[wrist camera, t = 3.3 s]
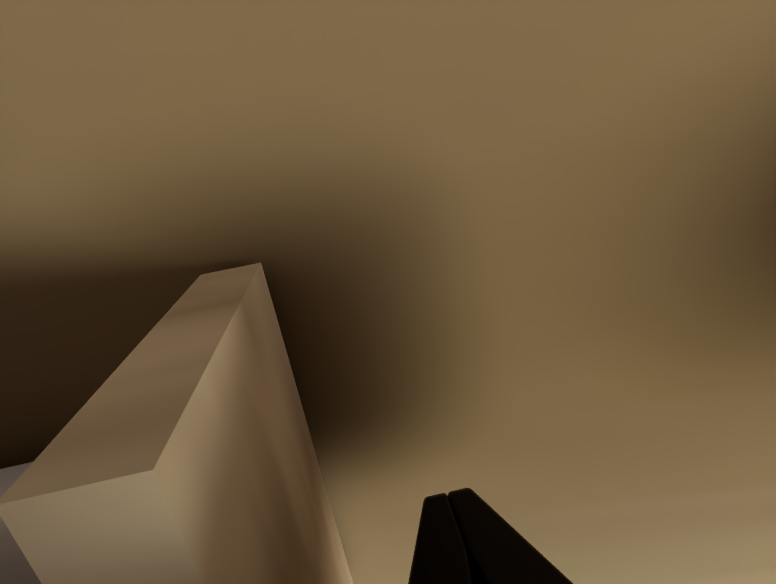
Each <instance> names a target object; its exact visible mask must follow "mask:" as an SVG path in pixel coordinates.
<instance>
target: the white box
mask: <svg viewBox="0 0 776 584" xmlns="http://www.w3.org/2000/svg"><path fill="white" fill-rule="evenodd" d="M0 584H353V582H352V578H351V575H350V571H349V568H348V564H347V561H346V557H345V554H344V550H343V547H342V543H341V540H340V536H339V533H338V529H337V526H336V522H335V519H334V515H333V512H332V508H331V505H330V501H329V498H328V494H327V491H326V487H325V484H324V481H323V477H322V474H321V470H320V467H319V463H318V460H317V456H316V453H315V449H314V446H313V442H312V439H311V435H310V432H309V428H308V425H307V421H306V418H305V414H304V411H303V407H302V404H301V400H300V397H299V393H298V390H297V386H296V383H295V379H294V376H293V372H292V369H291V365H290V362H289V358H288V355H287V351H286V348H285V344H284V341H283V337H282V334H281V330H280V327H279V323H278V320H277V316H276V313H275V309H274V306H273V302H272V299H271V296H270V292H269V289H268V285H267V282H266V278H265V275H264V271H263V268H262V264H261V263H256V264H251V265H246V266H241V267H236V268H231V269H226V270H222V271H217V272H212V273H207V274H202V275H200V276H199V277H198V278H197V279H196V280H195V282H194V283H193V284H192V285H191V286H190V287H189V288H188V289H187V291H186V292H185V293H184V294H183V295H182V296H181V297H180V298H179V299H178V301H177V302H176V303H175V304H174V305H173V306H172V307H171V308H170V310H169V311H168V312H167V313H166V314H165V315H164V316H163V317H162V318H161V320H160V321H159V322H158V323H157V324H156V325H155V326H154V327H153V329H152V330H151V331H150V332H149V333H148V334H147V335H146V336H145V337H144V339H143V340H142V341H141V342H140V343H139V344H138V345H137V346H136V348H135V349H134V350H133V351H132V352H131V353H130V354H129V355H128V356H127V358H126V359H125V360H124V361H123V362H122V363H121V364H120V365H119V367H118V368H117V369H116V370H115V371H114V372H113V373H112V374H111V375H110V377H109V378H108V379H107V380H106V381H105V382H104V383H103V384H102V386H101V387H100V388H99V389H98V390H97V391H96V392H95V393H94V394H93V396H92V397H91V398H90V399H89V400H88V401H87V402H86V403H85V405H84V406H83V407H82V408H81V409H80V410H79V411H78V412H77V413H76V415H75V416H74V417H73V418H72V419H71V420H70V421H69V422H68V424H67V425H66V426H65V427H64V428H63V429H62V430H61V431H60V432H59V434H58V435H57V436H56V437H55V438H54V439H53V440H52V441H51V443H50V444H49V445H48V446H47V447H46V448H45V449H44V450H43V451H42V453H41V454H40V455H39V456H38V457H37V458H36V459H35V460H34V462H30V463H26V464H21V465H17V466H12V467H8V468H3V469H0Z"/></svg>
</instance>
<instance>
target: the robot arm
mask: <svg viewBox="0 0 776 584" xmlns="http://www.w3.org/2000/svg"><path fill="white" fill-rule="evenodd" d="M408 584H573V583H572V582H571V581H570V580H569V579H568V578H566V577H565V576H564V575H563V574H562V573H561V572H560V571H559V570H558V569H557V568H556V567H555V566H554V565H552V564H551V563H550V562H549V561H548V560H547V559H546V558H545V557H544V556H543V555H542V554H541V553H540V552H538V551H537V550H536V549H535V548H534V547H533V546H532V545H531V544H530V543H529V542H528V541H527V540H526V539H524V538H523V537H522V536H521V535H520V534H519V533H518V532H517V531H516V530H515V529H514V528H513V527H512V526H510V525H509V524H508V523H507V522H506V521H505V520H504V519H503V518H502V517H501V516H500V515H499V514H498V513H496V512H495V511H494V510H493V509H492V508H491V507H490V506H489V505H488V504H487V503H486V502H485V501H484V500H482V499H481V498H480V497H479V496H478V495H477V494H476V493H475V492H474V491H473V490H472V489H470V488H464V489H459V490H455V491H451V492H449V494H448V496H447V495H446V494H445V493H441V494H437V495H433V496H428V497H426V498H425V499H424V502H423V507H422V513H421V518H420V523H419V529H418V534H417V539H416V545H415V550H414V556H413V561H412V566H411V572H410V577H409V582H408Z"/></svg>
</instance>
